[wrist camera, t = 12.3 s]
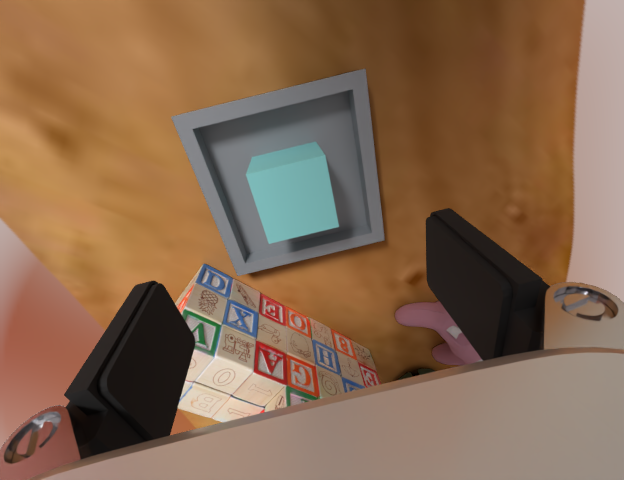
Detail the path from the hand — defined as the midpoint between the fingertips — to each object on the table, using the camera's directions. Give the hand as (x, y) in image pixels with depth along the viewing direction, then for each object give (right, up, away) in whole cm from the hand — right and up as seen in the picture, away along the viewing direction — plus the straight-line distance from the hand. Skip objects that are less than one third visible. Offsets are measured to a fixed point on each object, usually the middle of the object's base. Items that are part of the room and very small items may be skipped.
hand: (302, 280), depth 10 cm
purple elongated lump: (+14, -7, +23) cm, 28 cm away
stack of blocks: (-3, -8, +21) cm, 23 cm away
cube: (-1, +6, +13) cm, 15 cm away
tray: (-1, +6, +14) cm, 15 cm away
